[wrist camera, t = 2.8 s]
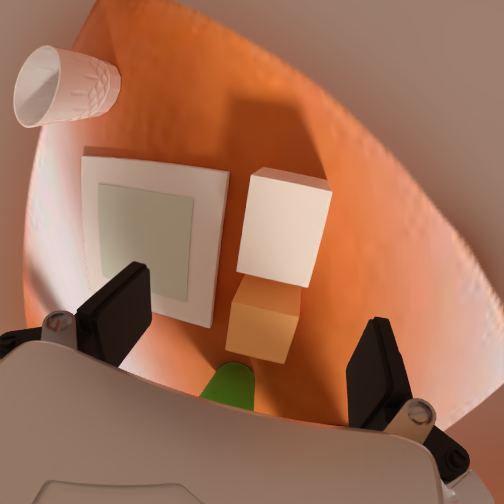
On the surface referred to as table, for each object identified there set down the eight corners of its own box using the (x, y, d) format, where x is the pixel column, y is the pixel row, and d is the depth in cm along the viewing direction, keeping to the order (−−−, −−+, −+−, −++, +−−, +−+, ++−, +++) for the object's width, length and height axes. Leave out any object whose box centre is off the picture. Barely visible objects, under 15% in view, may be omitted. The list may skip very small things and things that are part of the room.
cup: (203, 385, 39) (177, 443, 29) (207, 342, 35) (175, 407, 25) (262, 400, 38) (247, 463, 28) (276, 360, 34) (261, 432, 24)
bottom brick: (327, 179, 25) (332, 191, 20) (308, 258, 29) (308, 287, 23) (263, 166, 26) (251, 174, 20) (250, 245, 29) (236, 271, 24)
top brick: (302, 284, 30) (299, 317, 24) (289, 328, 32) (284, 364, 27) (246, 271, 30) (232, 301, 25) (238, 316, 33) (225, 350, 27)
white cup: (111, 129, 27) (44, 137, 18) (69, 113, 27) (6, 118, 18) (136, 63, 24) (72, 47, 14) (89, 54, 23) (28, 43, 14)
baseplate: (230, 171, 27) (226, 173, 25) (212, 323, 34) (209, 329, 33) (87, 155, 29) (80, 156, 27) (93, 285, 36) (88, 289, 35)
